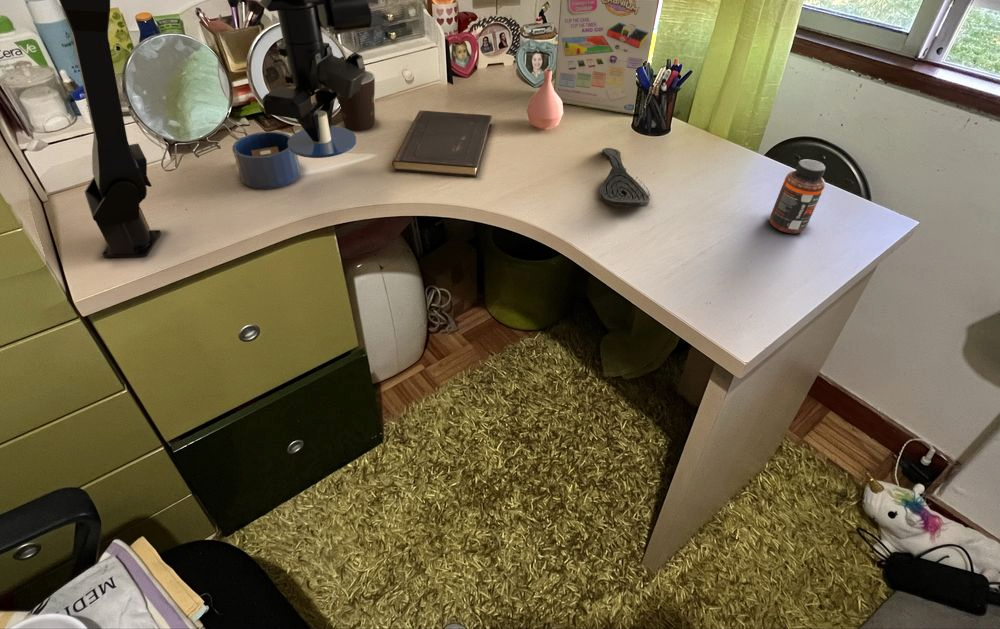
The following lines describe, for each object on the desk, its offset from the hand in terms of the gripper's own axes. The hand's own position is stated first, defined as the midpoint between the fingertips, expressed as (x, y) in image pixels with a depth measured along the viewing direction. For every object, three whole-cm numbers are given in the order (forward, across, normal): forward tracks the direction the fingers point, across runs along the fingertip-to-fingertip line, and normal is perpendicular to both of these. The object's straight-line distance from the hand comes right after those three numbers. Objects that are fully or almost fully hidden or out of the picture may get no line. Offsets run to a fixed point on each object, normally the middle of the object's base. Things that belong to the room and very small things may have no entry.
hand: (321, 137), depth 97 cm
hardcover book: (+10, +22, -13) cm, 28 cm away
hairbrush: (+10, +19, -49) cm, 53 cm away
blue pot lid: (+1, 0, 0) cm, 1 cm away
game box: (+10, +54, -39) cm, 68 cm away
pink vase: (+10, +38, -30) cm, 50 cm away
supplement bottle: (+10, +14, -78) cm, 80 cm away
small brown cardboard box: (+9, +1, +13) cm, 16 cm away
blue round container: (+10, +1, +13) cm, 16 cm away
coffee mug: (+10, +28, +8) cm, 30 cm away
